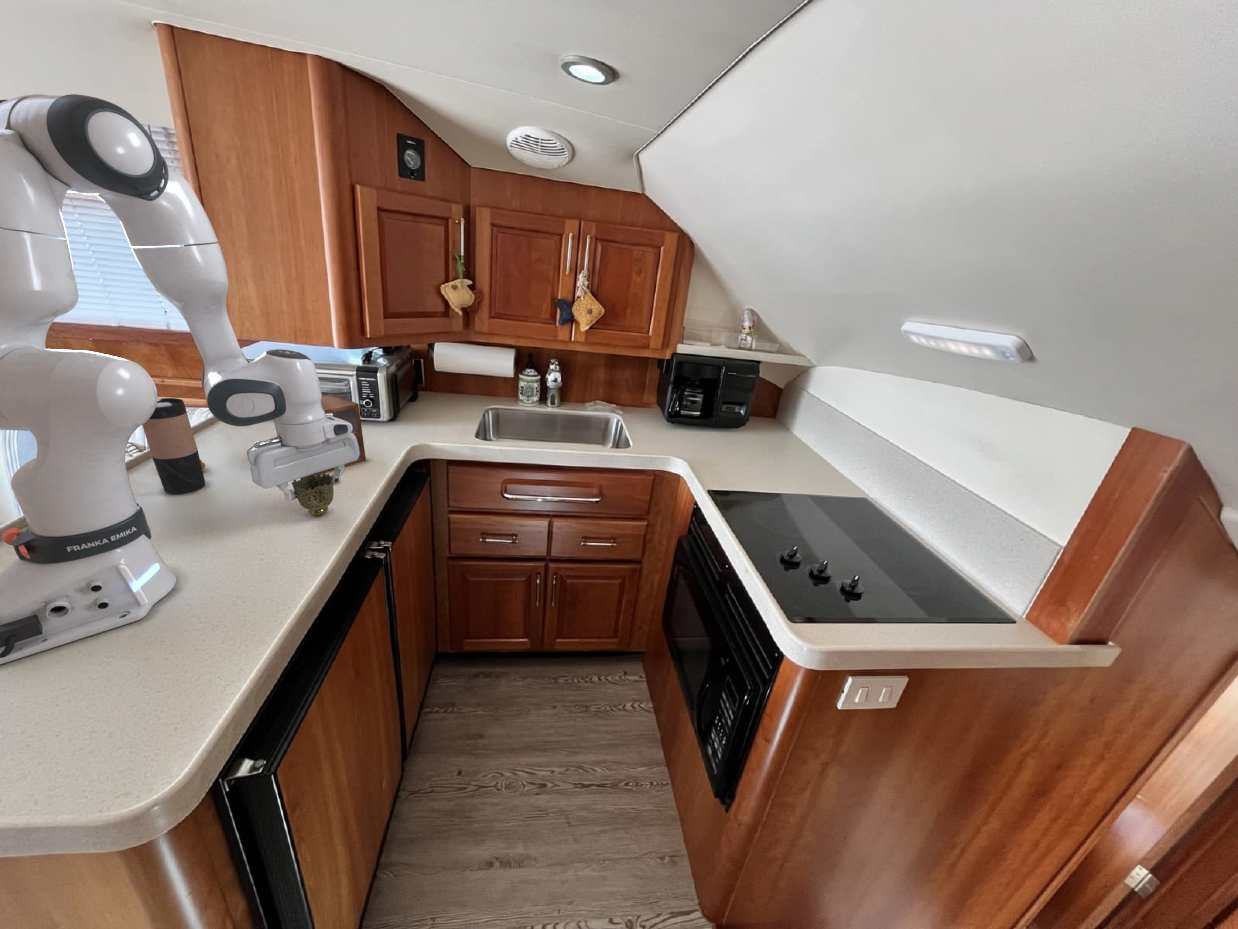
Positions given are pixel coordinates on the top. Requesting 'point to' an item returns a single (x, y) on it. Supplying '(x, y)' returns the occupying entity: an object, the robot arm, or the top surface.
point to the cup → (314, 493)
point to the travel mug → (174, 447)
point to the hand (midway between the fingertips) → (314, 491)
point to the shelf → (347, 413)
